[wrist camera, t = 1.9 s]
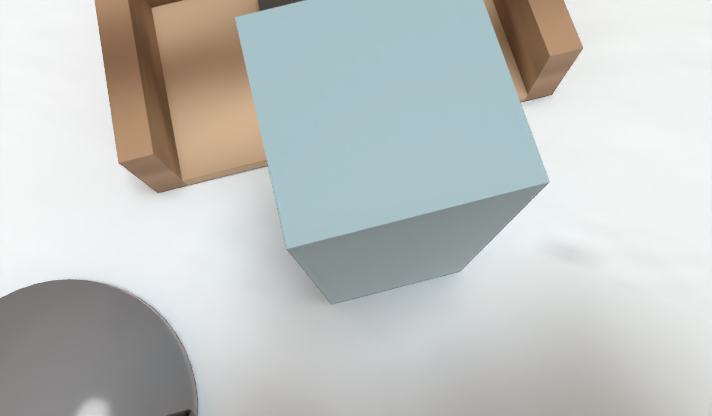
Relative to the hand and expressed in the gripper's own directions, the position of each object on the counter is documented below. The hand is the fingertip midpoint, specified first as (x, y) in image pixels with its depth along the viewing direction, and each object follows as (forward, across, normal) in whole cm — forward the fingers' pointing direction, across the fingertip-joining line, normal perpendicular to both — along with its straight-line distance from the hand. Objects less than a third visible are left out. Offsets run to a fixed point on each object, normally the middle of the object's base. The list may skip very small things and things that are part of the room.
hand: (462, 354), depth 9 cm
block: (+12, 0, +4) cm, 12 cm away
